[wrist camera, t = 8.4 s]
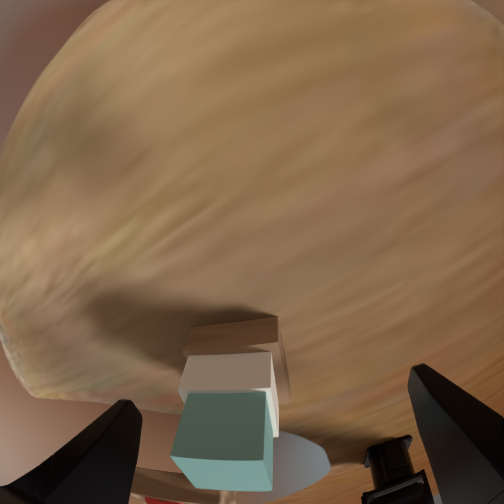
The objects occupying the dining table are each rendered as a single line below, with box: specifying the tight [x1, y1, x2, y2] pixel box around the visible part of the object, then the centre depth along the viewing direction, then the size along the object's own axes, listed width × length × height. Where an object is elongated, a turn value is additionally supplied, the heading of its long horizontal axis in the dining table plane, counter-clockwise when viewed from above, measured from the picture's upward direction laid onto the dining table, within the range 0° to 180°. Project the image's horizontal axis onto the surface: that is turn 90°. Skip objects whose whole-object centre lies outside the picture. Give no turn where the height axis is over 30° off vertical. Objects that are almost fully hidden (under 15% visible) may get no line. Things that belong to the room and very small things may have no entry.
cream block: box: [177, 351, 279, 437], centre depth 19 cm, size 6×6×4 cm
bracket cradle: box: [130, 467, 237, 504], centre depth 33 cm, size 9×16×6 cm, turn 102°
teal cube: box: [170, 392, 273, 491], centre depth 15 cm, size 5×5×5 cm
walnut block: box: [182, 316, 290, 405], centre depth 22 cm, size 7×7×4 cm
